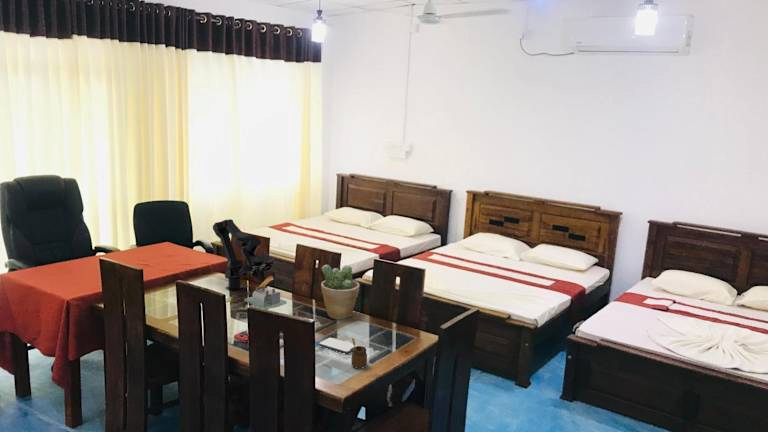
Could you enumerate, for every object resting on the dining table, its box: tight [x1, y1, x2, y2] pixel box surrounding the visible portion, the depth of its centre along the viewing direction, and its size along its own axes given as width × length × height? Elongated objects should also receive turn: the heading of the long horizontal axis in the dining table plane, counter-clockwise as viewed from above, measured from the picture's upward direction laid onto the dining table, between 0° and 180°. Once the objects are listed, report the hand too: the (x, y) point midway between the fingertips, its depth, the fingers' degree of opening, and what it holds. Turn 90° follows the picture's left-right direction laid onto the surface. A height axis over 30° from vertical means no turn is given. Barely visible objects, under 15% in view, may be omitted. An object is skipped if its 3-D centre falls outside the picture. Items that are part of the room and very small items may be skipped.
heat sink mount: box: [243, 286, 287, 310], centre depth 288 cm, size 17×13×7 cm
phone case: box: [317, 337, 359, 355], centre depth 237 cm, size 9×2×16 cm
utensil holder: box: [351, 337, 368, 369], centre depth 220 cm, size 6×6×12 cm
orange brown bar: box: [257, 275, 275, 290], centre depth 286 cm, size 12×3×2 cm
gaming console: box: [233, 330, 249, 344], centre depth 249 cm, size 24×3×10 cm
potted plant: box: [320, 264, 360, 320], centre depth 272 cm, size 18×19×25 cm
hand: (264, 282), depth 287 cm, fingers closed, pressing on orange brown bar
